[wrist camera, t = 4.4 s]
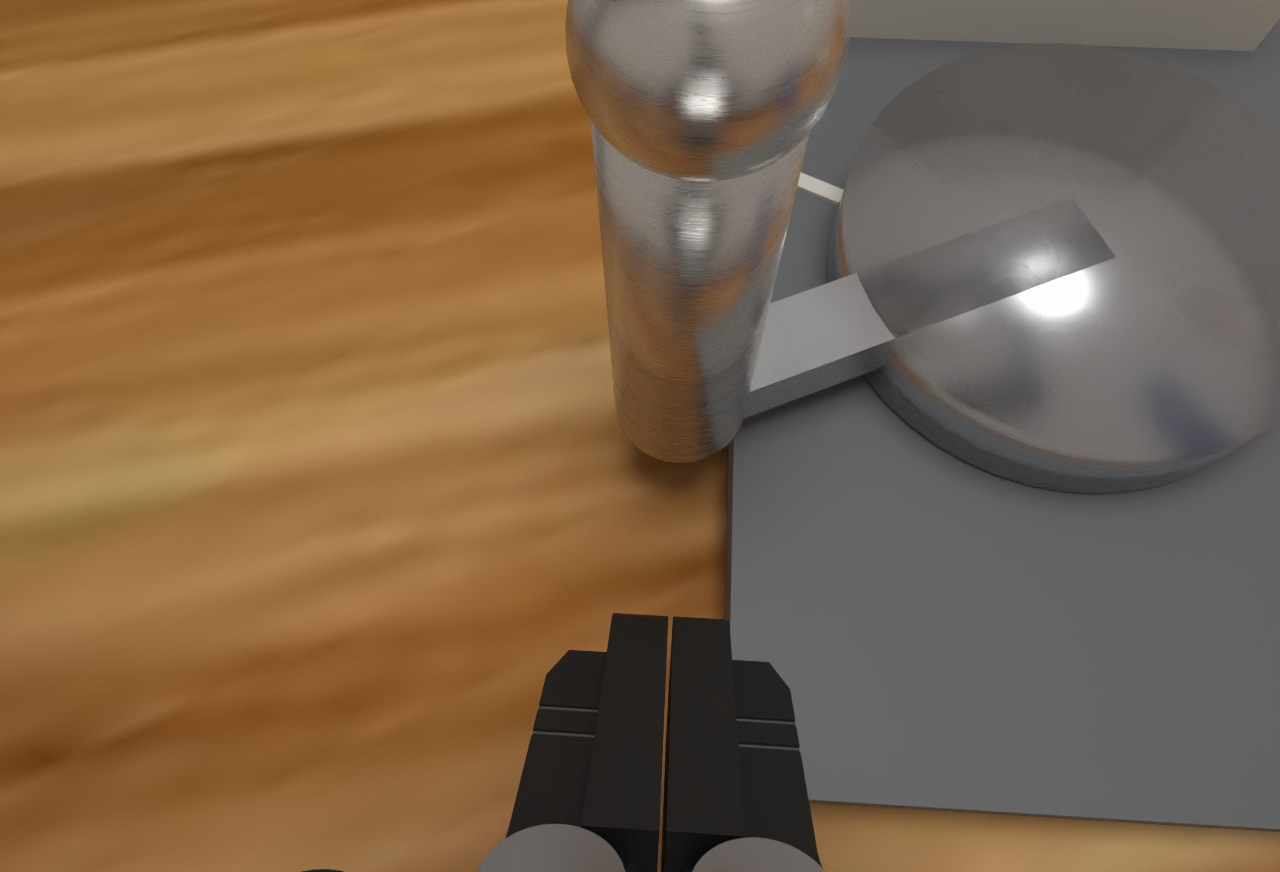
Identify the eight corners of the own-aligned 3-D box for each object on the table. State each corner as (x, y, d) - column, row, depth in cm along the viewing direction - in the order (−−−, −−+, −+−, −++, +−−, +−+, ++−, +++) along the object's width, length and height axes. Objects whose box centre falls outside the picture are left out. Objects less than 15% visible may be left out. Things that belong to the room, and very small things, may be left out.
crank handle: (708, 674, 16) (808, 424, 6) (533, 256, 20) (408, -346, 10) (1388, 393, 18) (2335, -151, 8) (1116, 62, 22) (1525, -601, 12)
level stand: (721, 796, 17) (759, 783, 11) (738, -18, 26) (764, -271, 20) (1469, 843, 17) (1932, 857, 11) (1228, -2, 25) (1407, -256, 19)
